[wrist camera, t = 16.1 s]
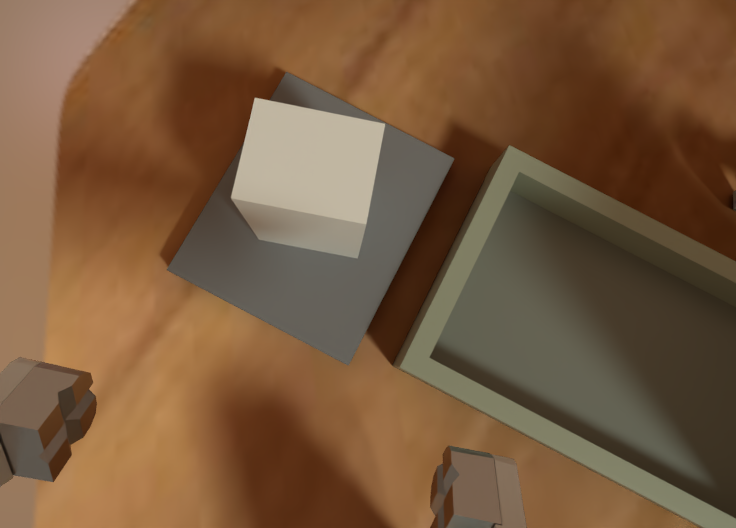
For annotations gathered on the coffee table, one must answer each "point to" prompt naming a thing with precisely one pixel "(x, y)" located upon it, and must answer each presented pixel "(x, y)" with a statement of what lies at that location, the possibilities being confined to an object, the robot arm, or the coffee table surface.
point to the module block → (307, 177)
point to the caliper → (734, 200)
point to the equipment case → (589, 336)
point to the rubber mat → (310, 267)
